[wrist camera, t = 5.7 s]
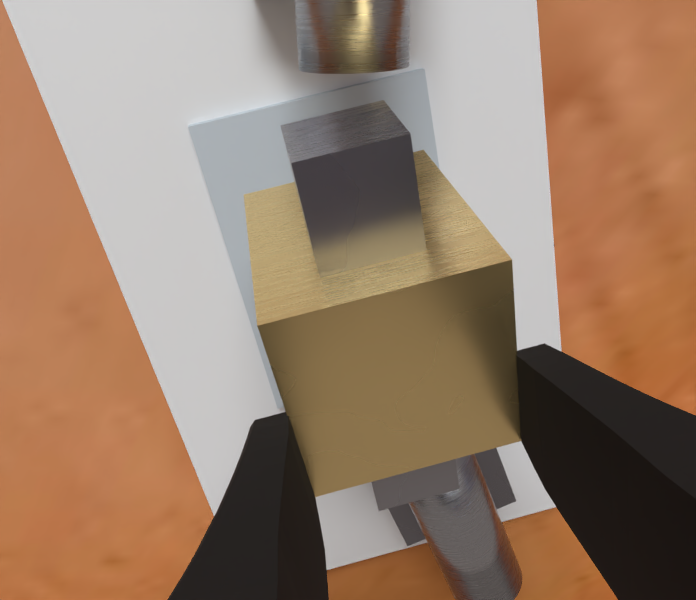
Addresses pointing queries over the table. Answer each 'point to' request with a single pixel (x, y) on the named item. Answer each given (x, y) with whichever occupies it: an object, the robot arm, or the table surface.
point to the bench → (274, 170)
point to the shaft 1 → (352, 35)
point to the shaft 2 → (468, 530)
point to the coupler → (381, 310)
